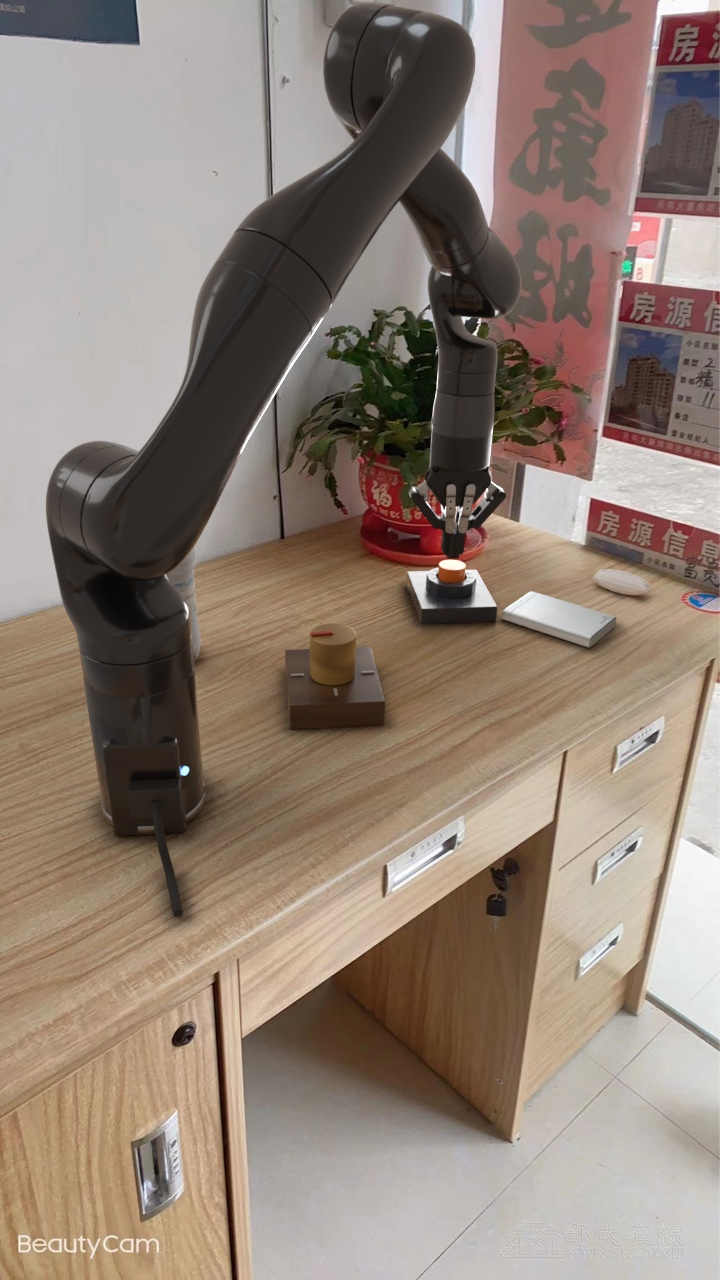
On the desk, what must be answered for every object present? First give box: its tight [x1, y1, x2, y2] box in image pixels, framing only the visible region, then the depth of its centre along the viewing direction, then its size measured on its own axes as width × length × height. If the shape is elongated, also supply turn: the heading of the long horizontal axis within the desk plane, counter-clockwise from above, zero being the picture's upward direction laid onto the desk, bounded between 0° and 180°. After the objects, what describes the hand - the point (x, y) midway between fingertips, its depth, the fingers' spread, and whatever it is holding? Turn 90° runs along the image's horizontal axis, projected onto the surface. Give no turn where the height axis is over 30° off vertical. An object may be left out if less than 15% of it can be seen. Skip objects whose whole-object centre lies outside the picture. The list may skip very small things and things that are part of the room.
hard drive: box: [501, 590, 617, 648], centre depth 115 cm, size 2×8×12 cm
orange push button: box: [438, 559, 467, 583], centre depth 118 cm, size 4×4×2 cm
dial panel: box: [284, 646, 386, 730], centre depth 98 cm, size 12×10×3 cm
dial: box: [309, 623, 357, 685], centre depth 96 cm, size 5×5×5 cm
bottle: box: [167, 546, 202, 662], centre depth 101 cm, size 7×7×20 cm
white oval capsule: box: [593, 568, 652, 596], centre depth 124 cm, size 3×8×3 cm, turn 54°
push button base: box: [405, 566, 498, 625], centre depth 120 cm, size 12×10×4 cm
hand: (452, 556), depth 117 cm, fingers closed
